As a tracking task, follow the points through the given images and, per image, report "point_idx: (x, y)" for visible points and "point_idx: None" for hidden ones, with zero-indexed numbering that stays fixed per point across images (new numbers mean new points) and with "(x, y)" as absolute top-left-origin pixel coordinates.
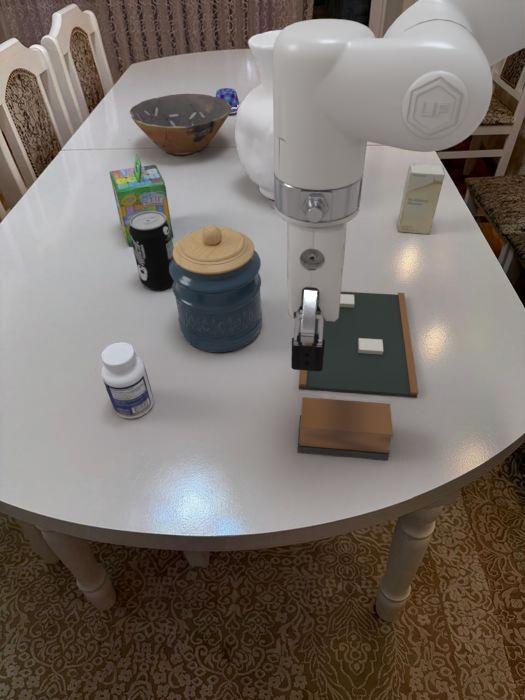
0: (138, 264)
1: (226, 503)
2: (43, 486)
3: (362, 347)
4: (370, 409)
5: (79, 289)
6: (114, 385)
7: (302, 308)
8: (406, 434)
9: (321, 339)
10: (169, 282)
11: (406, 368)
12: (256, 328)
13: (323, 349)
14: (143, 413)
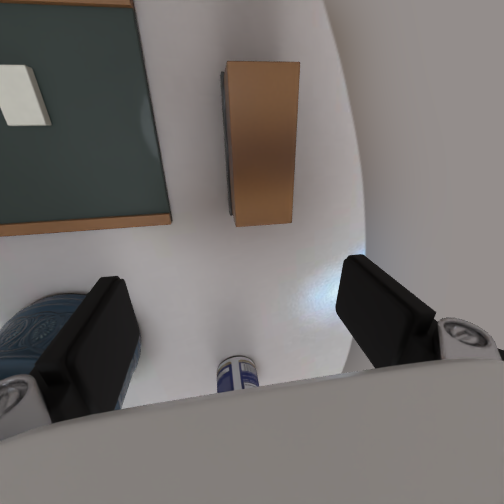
0: None
1: (339, 266)
2: None
3: (36, 117)
4: (247, 107)
5: None
6: None
7: (137, 332)
8: (227, 32)
9: (496, 350)
10: None
11: (53, 6)
12: (78, 305)
13: (412, 296)
14: (249, 360)
